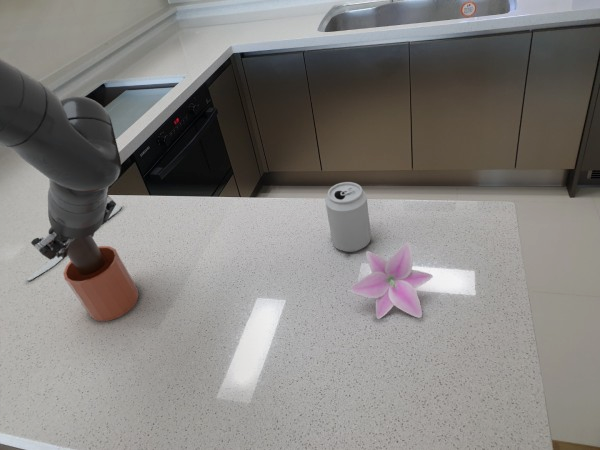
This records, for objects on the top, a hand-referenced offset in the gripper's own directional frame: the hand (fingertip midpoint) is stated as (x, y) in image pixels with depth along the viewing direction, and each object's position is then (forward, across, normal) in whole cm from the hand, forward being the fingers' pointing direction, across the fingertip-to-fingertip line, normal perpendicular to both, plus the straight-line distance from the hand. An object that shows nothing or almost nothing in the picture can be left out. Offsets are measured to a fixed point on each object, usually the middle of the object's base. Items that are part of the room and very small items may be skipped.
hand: (74, 243), depth 80 cm
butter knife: (+26, -8, -6) cm, 28 cm away
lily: (-24, -24, +44) cm, 55 cm away
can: (-14, -34, +34) cm, 50 cm away
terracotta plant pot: (+10, 0, +10) cm, 14 cm away
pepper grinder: (+2, 0, +5) cm, 5 cm away
